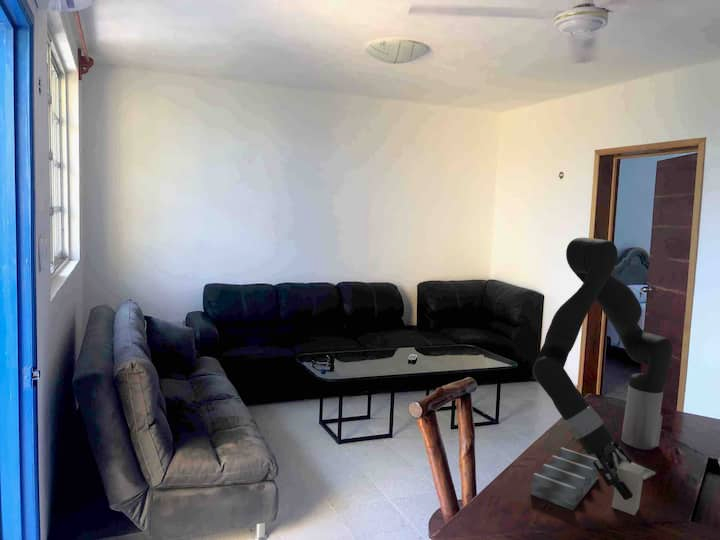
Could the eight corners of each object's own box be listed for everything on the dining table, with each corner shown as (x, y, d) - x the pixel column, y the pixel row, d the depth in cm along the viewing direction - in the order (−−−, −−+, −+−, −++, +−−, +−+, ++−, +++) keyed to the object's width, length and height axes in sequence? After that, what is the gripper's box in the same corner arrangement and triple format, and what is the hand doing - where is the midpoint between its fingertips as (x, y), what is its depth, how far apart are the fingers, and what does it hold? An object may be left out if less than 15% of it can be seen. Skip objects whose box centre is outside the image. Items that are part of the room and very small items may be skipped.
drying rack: (531, 494, 141) (533, 474, 140) (559, 465, 157) (561, 447, 156) (572, 510, 135) (575, 489, 134) (598, 478, 151) (600, 459, 150)
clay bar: (611, 507, 138) (617, 467, 136) (616, 500, 141) (621, 461, 139) (634, 515, 135) (640, 474, 133) (638, 508, 138) (644, 468, 136)
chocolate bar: (596, 444, 170) (658, 471, 156) (595, 447, 170) (657, 474, 156) (578, 451, 165) (641, 479, 151) (578, 455, 165) (640, 483, 151)
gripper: (593, 431, 134) (640, 496, 129) (610, 414, 145) (654, 473, 140) (567, 445, 138) (612, 509, 133) (585, 427, 149) (627, 486, 144)
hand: (633, 491), depth 136 cm, fingers open, 8 cm apart
